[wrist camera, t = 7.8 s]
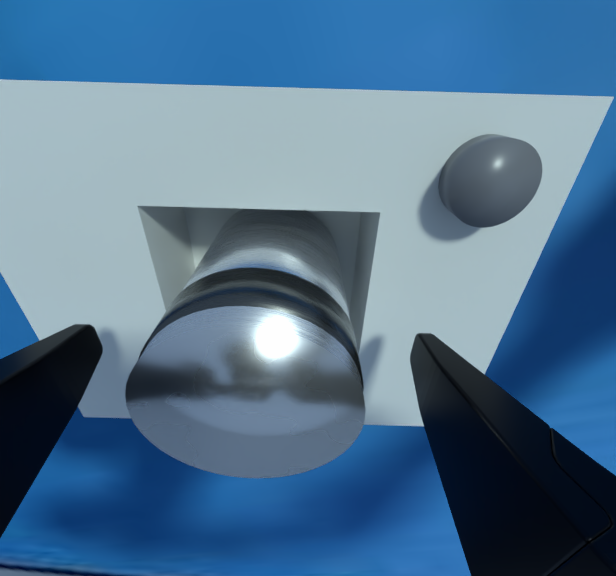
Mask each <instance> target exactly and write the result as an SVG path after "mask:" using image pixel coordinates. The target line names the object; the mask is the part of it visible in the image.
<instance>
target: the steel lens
mask: <svg viewBox="0 0 616 576" xmlns="http://www.w3.org/2000/svg"><path fill="white" fill-rule="evenodd" d="M363 390H364V385H363V376H362V371H361V366H360V360H359V355H358V349H357V344H356V339H355V334H354V330H353V327H352V324H351V322H350V316H349V311H348V305H347V300H346V294H345V288H344V283H343V277H342V272H341V266H340V261H339V255H338V250H337V246H336V243H335V241H334V238H333V236H332V234H331V233H330V231H329V230H328V228H327V227H326V226H325V225H324V224H323V222H322V221H320V220H319V219H318V218H317V217H316V216H314V215H313V214H312V213H310V212H308V211H307V210H275V209H242V210H240V211H238V212H237V213H235V214H234V215H233V216H232V217H230V218H229V219H228V220H227V221H226V223H225V224H224V225H223V226H222V228H221V229H220V231H219V233H218V234H217V236H216V237H215V239H214V241H213V242H212V244H211V245H210V247H209V248H208V250H207V252H206V253H205V255H204V256H203V258H202V260H201V261H200V263H199V264H198V266H197V267H196V269H195V271H194V272H193V274H192V275H191V277H190V279H189V280H188V282H187V283H186V285H185V286H184V288H183V290H182V291H181V292H180V293H179V294H178V296H177V297H176V298H175V299H174V300H173V301H172V303H171V304H170V306H169V308H168V309H167V311H166V312H165V314H164V315H163V317H162V318H161V320H160V322H159V323H158V325H157V326H156V328H155V329H154V331H153V332H152V334H151V336H150V337H149V339H148V340H147V342H146V343H145V345H144V347H143V349H142V350H141V353H140V356H139V359H138V361H137V362H136V364H135V366H134V367H133V369H132V371H131V373H130V374H129V377H128V380H127V383H126V391H125V398H126V406H127V409H128V411H129V414H130V417H131V418H132V420H133V422H134V424H135V425H136V427H137V428H138V429H139V431H140V432H141V433H142V434H143V435H144V436H145V437H146V438H147V439H148V440H149V441H150V442H151V443H152V444H153V445H155V446H156V447H157V448H159V449H160V450H161V451H163V452H165V453H166V454H168V455H169V456H171V457H173V458H175V459H177V460H179V461H181V462H183V463H186V464H188V465H190V466H193V467H196V468H199V469H202V470H205V471H209V472H212V473H216V474H222V475H227V476H234V477H242V478H273V477H283V476H289V475H294V474H298V473H303V472H306V471H309V470H312V469H315V468H317V467H320V466H322V465H324V464H326V463H328V462H330V461H332V460H334V459H335V458H337V457H338V456H339V455H341V454H342V453H344V452H345V451H346V450H347V449H348V448H349V447H350V446H351V445H352V444H353V442H354V441H355V440H356V439H357V437H358V435H359V433H360V431H361V430H362V427H363V424H364V420H365V411H366V409H365V401H364V395H363Z"/></svg>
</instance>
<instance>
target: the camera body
mask: <svg viewBox="0 0 616 576" xmlns="http://www.w3.org/2000/svg"><path fill="white" fill-rule="evenodd" d="M613 98H614V97H603V96H567V95H531V94H495V93H459V92H424V91H388V90H352V89H316V88H281V87H245V86H209V85H173V84H137V83H102V82H66V81H30V80H0V272H1V274H2V276H3V277H4V279H5V281H6V283H7V284H8V286H9V288H10V290H11V291H12V293H13V295H14V297H15V298H16V300H17V302H18V303H19V305H20V307H21V309H22V310H23V312H24V314H25V316H26V317H27V319H28V321H29V323H30V324H31V326H32V328H33V330H34V331H35V333H36V335H37V336H38V338H39V340H42V339H44V338H46V337H49V336H51V335H53V334H55V333H57V332H59V331H61V330H63V329H65V328H68V327H70V326H72V325H74V324H90V325H92V326H93V327H94V328H95V330H96V332H97V334H98V337H99V339H100V341H101V343H102V346H103V353H102V356H101V358H100V360H99V362H98V365H97V367H96V369H95V371H94V373H93V375H92V378H91V380H90V382H89V384H88V386H87V388H86V391H85V393H84V395H83V397H82V399H81V401H80V403H79V405H78V408H79V409H80V411H81V413H82V415H83V416H84V417H100V418H131V417H130V414H129V411H128V409H127V406H126V398H125V391H126V383H127V380H128V377H129V374H130V373H131V371H132V369H133V367H134V366H135V364H136V362H137V361H138V359H139V356H140V353H141V350H142V349H143V347H144V345H145V343H146V342H147V340H148V339H149V337H150V336H151V334H152V332H153V331H154V329H155V328H156V326H157V325H158V323H159V322H160V320H161V318H162V317H163V315H164V314H165V312H166V311H167V309H168V308H169V306H170V304H171V303H172V301H173V300H174V299H175V298H176V297H177V296H178V294H179V293H180V292H181V291H182V290H183V288H184V286H185V285H186V283H187V282H188V280H189V279H190V277H191V275H192V274H193V272H194V271H195V269H196V267H197V266H198V264H199V263H200V261H201V260H202V258H203V256H204V255H205V253H206V252H207V250H208V248H209V247H210V245H211V244H212V242H213V241H214V239H215V237H216V236H217V234H218V233H219V231H220V229H221V228H222V226H223V225H224V224H225V223H226V221H227V220H228V219H229V218H230V217H232V216H233V215H234V214H235V213H237V212H238V211H240V210H242V209H275V210H307V211H308V212H310V213H312V214H313V215H314V216H316V217H317V218H318V219H319V220H320V221H322V222H323V224H324V225H325V226H326V227H327V228H328V230H329V231H330V233H331V234H332V236H333V238H334V241H335V243H336V246H337V250H338V255H339V261H340V266H341V272H342V277H343V283H344V288H345V294H346V300H347V305H348V311H349V316H350V322H351V324H352V327H353V330H354V334H355V339H356V344H357V349H358V355H359V360H360V366H361V371H362V376H363V385H364V390H363V395H364V401H365V409H366V411H365V420H364V424H363V425H396V426H424V424H423V421H422V418H421V414H420V410H419V405H418V400H417V395H416V390H415V385H414V380H413V375H412V369H411V364H410V354H411V350H412V346H413V342H414V339H415V336H416V334H418V333H431V334H433V335H435V336H436V337H437V338H439V339H440V340H441V341H442V342H444V343H445V344H446V345H448V346H449V347H450V348H451V349H453V350H454V351H455V352H456V353H458V354H459V355H460V356H462V357H463V358H464V359H465V360H467V361H468V362H469V363H470V364H472V365H473V366H474V367H475V368H477V369H478V370H479V371H481V372H482V373H483V374H485V372H486V370H487V368H488V366H489V364H490V362H491V359H492V357H493V355H494V353H495V351H496V349H497V347H498V344H499V342H500V340H501V338H502V336H503V334H504V332H505V329H506V327H507V325H508V323H509V321H510V319H511V317H512V314H513V312H514V310H515V308H516V306H517V304H518V302H519V299H520V297H521V295H522V293H523V291H524V289H525V287H526V284H527V282H528V280H529V278H530V276H531V274H532V272H533V269H534V267H535V265H536V263H537V261H538V259H539V257H540V254H541V252H542V250H543V248H544V246H545V244H546V242H547V239H548V237H549V235H550V233H551V231H552V229H553V227H554V224H555V222H556V220H557V218H558V216H559V214H560V212H561V209H562V207H563V205H564V203H565V201H566V199H567V197H568V194H569V192H570V190H571V188H572V186H573V184H574V181H575V179H576V177H577V175H578V173H579V171H580V169H581V166H582V164H583V162H584V160H585V158H586V156H587V154H588V151H589V149H590V147H591V145H592V143H593V141H594V139H595V136H596V134H597V132H598V130H599V128H600V126H601V124H602V121H603V119H604V117H605V115H606V113H607V111H608V109H609V106H610V104H611V102H612V100H613Z"/></svg>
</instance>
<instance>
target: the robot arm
mask: <svg viewBox="0 0 616 576" xmlns="http://www.w3.org/2000/svg"><path fill="white" fill-rule="evenodd" d="M102 353H103V346H102V343H101V341H100V339H99V337H98V334H97V332H96V330H95V328H94V327H93V326H92V325H90V324H74V325H72V326H70V327H68V328H65V329H63V330H61V331H59V332H57V333H55V334H53V335H51V336H49V337H46V338H44V339H42V340H40V341H38V342H36V343H34V344H32V345H29V346H27V347H25V348H23V349H21V350H19V351H17V352H15V353H13V354H10V355H8V356H6V357H4V358H2V359H0V538H1V536H2V534H3V533H4V531H5V529H6V528H7V526H8V524H9V522H10V521H11V519H12V517H13V516H14V514H15V512H16V511H17V509H18V507H19V505H20V504H21V502H22V500H23V499H24V497H25V495H26V494H27V492H28V490H29V489H30V487H31V485H32V483H33V482H34V480H35V478H36V477H37V475H38V473H39V472H40V470H41V468H42V466H43V465H44V463H45V461H46V460H47V458H48V456H49V455H50V453H51V451H52V450H53V448H54V446H55V444H56V443H57V441H58V439H59V438H60V436H61V434H62V433H63V431H64V429H65V427H66V426H67V424H68V422H69V421H70V419H71V417H72V416H73V414H74V412H75V410H76V409H77V407H78V405H79V403H80V401H81V399H82V397H83V395H84V393H85V391H86V388H87V386H88V384H89V382H90V380H91V378H92V375H93V373H94V371H95V369H96V367H97V365H98V362H99V360H100V358H101V356H102ZM410 364H411V369H412V375H413V380H414V385H415V390H416V395H417V400H418V405H419V410H420V414H421V418H422V421H423V424H424V428H425V431H426V434H427V437H428V440H429V443H430V447H431V450H432V453H433V456H434V459H435V462H436V466H437V469H438V472H439V475H440V478H441V481H442V485H443V488H444V491H445V494H446V497H447V500H448V504H449V507H450V510H451V513H452V516H453V519H454V523H455V526H456V529H457V532H458V535H459V538H460V542H461V545H462V548H463V551H464V554H465V557H466V561H467V564H468V567H469V570H470V573H471V576H616V476H615V475H614V474H612V473H611V472H610V471H608V470H607V469H606V468H604V467H603V466H601V465H600V464H599V463H597V462H596V461H595V460H593V459H592V458H591V457H589V456H588V455H587V454H585V453H584V452H583V451H581V450H580V449H579V448H577V447H576V446H575V445H574V444H572V443H571V442H570V441H568V440H567V439H566V438H565V437H563V436H562V435H561V434H559V433H558V432H557V431H556V430H554V429H553V428H550V427H549V425H548V424H547V423H545V422H544V421H543V420H541V419H540V418H539V417H538V416H536V415H535V414H534V413H533V412H531V411H530V410H529V409H528V408H526V407H525V406H524V405H522V404H521V403H520V402H519V401H517V400H516V399H515V398H514V397H512V396H511V395H510V394H508V393H507V392H506V391H505V390H503V389H502V388H501V387H500V386H498V385H497V384H496V383H495V382H493V381H492V380H491V379H489V378H488V377H487V376H486V375H484V374H483V373H482V372H481V371H479V370H478V369H477V368H475V367H474V366H473V365H472V364H470V363H469V362H468V361H467V360H465V359H464V358H463V357H462V356H460V355H459V354H458V353H456V352H455V351H454V350H453V349H451V348H450V347H449V346H448V345H446V344H445V343H444V342H442V341H441V340H440V339H439V338H437V337H436V336H435V335H433V334H431V333H418V334H416V336H415V339H414V342H413V346H412V350H411V354H410Z"/></svg>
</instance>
